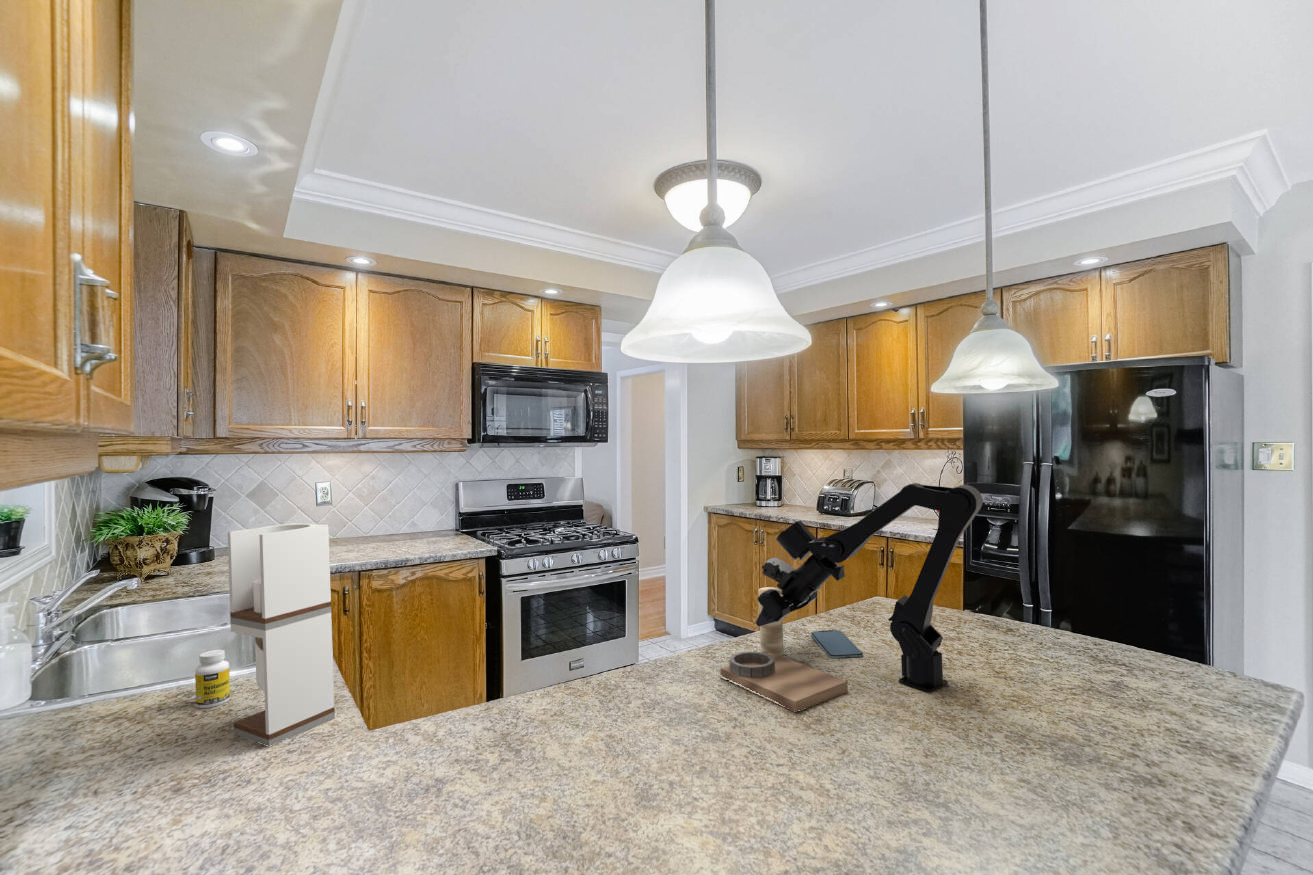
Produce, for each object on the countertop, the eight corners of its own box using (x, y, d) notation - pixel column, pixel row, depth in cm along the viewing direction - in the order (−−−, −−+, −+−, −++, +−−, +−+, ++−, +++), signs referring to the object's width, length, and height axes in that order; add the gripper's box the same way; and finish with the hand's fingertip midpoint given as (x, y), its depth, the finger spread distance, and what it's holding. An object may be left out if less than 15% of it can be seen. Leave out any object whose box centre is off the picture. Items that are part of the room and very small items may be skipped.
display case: (299, 707, 115) (293, 522, 115) (334, 717, 110) (328, 524, 110) (234, 734, 105) (227, 531, 105) (269, 747, 100) (262, 534, 100)
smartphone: (830, 655, 130) (809, 630, 145) (830, 663, 130) (809, 637, 145) (864, 653, 130) (840, 629, 145) (865, 661, 130) (841, 636, 145)
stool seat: (847, 691, 113) (846, 670, 113) (795, 713, 105) (794, 689, 105) (770, 661, 129) (769, 642, 129) (720, 677, 122) (719, 658, 122)
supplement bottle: (201, 711, 114) (199, 659, 114) (191, 704, 118) (190, 654, 118) (234, 701, 119) (233, 651, 119) (224, 694, 122) (223, 646, 122)
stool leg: (788, 653, 134) (786, 590, 134) (772, 658, 131) (769, 594, 131) (772, 647, 138) (769, 586, 138) (756, 652, 135) (753, 589, 135)
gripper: (802, 540, 140) (761, 583, 146) (764, 554, 125) (720, 600, 132) (836, 578, 135) (792, 620, 142) (801, 597, 120) (754, 643, 127)
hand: (765, 620), depth 135 cm, fingers open, 7 cm apart
